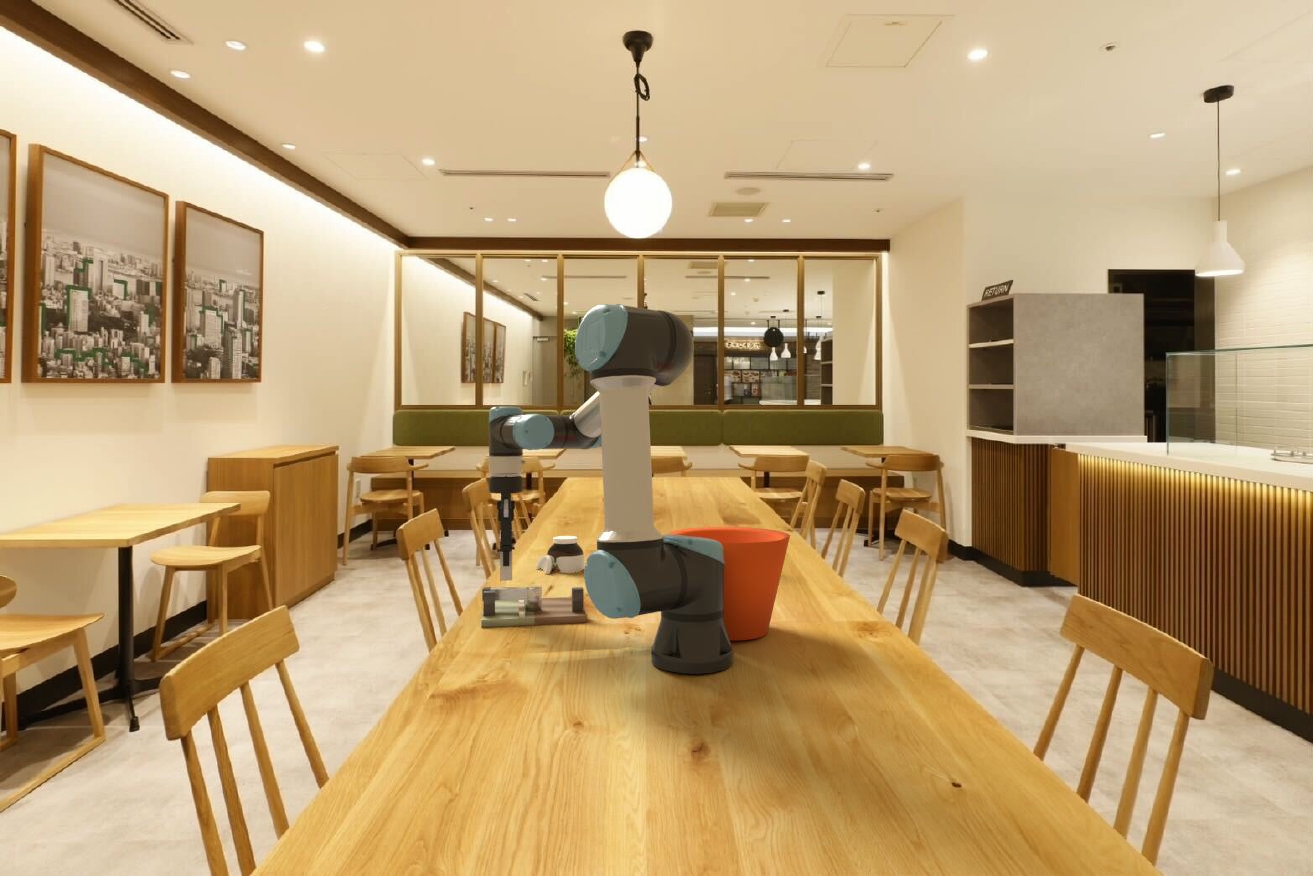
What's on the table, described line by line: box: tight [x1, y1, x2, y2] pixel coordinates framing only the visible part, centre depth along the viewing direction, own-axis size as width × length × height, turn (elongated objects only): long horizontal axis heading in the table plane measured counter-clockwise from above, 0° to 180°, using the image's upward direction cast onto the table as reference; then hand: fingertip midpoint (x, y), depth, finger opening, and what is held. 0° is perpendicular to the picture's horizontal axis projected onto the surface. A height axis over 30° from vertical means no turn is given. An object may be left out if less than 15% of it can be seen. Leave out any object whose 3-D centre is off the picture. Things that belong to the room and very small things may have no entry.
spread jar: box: [535, 535, 585, 575], centre depth 208 cm, size 12×11×12 cm
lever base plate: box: [480, 586, 587, 628], centre depth 167 cm, size 19×22×6 cm
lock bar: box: [481, 585, 543, 611], centre depth 164 cm, size 13×4×5 cm, turn 93°
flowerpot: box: [668, 526, 791, 641], centre depth 154 cm, size 25×25×20 cm
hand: (506, 579), depth 168 cm, fingers closed
